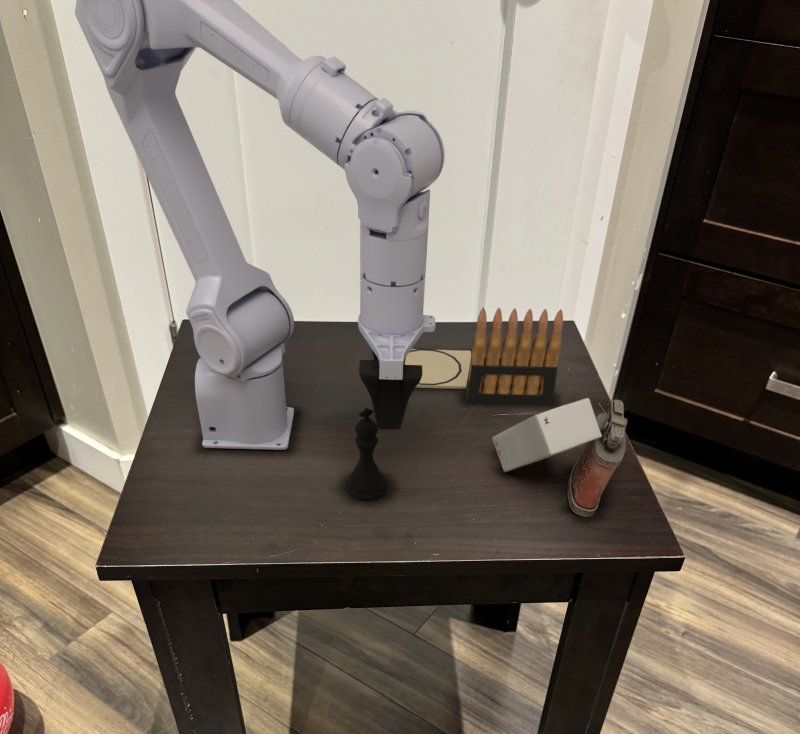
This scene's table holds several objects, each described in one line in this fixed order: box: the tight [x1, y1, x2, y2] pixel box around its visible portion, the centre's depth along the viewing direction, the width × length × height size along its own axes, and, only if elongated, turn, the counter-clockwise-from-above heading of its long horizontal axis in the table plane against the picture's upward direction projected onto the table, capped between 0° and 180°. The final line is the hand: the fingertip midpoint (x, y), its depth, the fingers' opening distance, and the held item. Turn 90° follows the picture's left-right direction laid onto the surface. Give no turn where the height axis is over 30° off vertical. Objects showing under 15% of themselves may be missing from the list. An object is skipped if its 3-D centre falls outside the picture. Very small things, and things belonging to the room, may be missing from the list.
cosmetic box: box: [491, 397, 602, 473], centre depth 79 cm, size 6×4×12 cm
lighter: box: [567, 399, 628, 518], centre depth 78 cm, size 8×3×10 cm, turn 168°
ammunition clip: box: [464, 307, 564, 405], centre depth 91 cm, size 11×2×12 cm, turn 91°
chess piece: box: [345, 407, 388, 502], centre depth 78 cm, size 4×4×10 cm
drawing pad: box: [405, 348, 472, 390], centre depth 99 cm, size 12×9×1 cm
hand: (389, 405), depth 76 cm, fingers open, 7 cm apart
